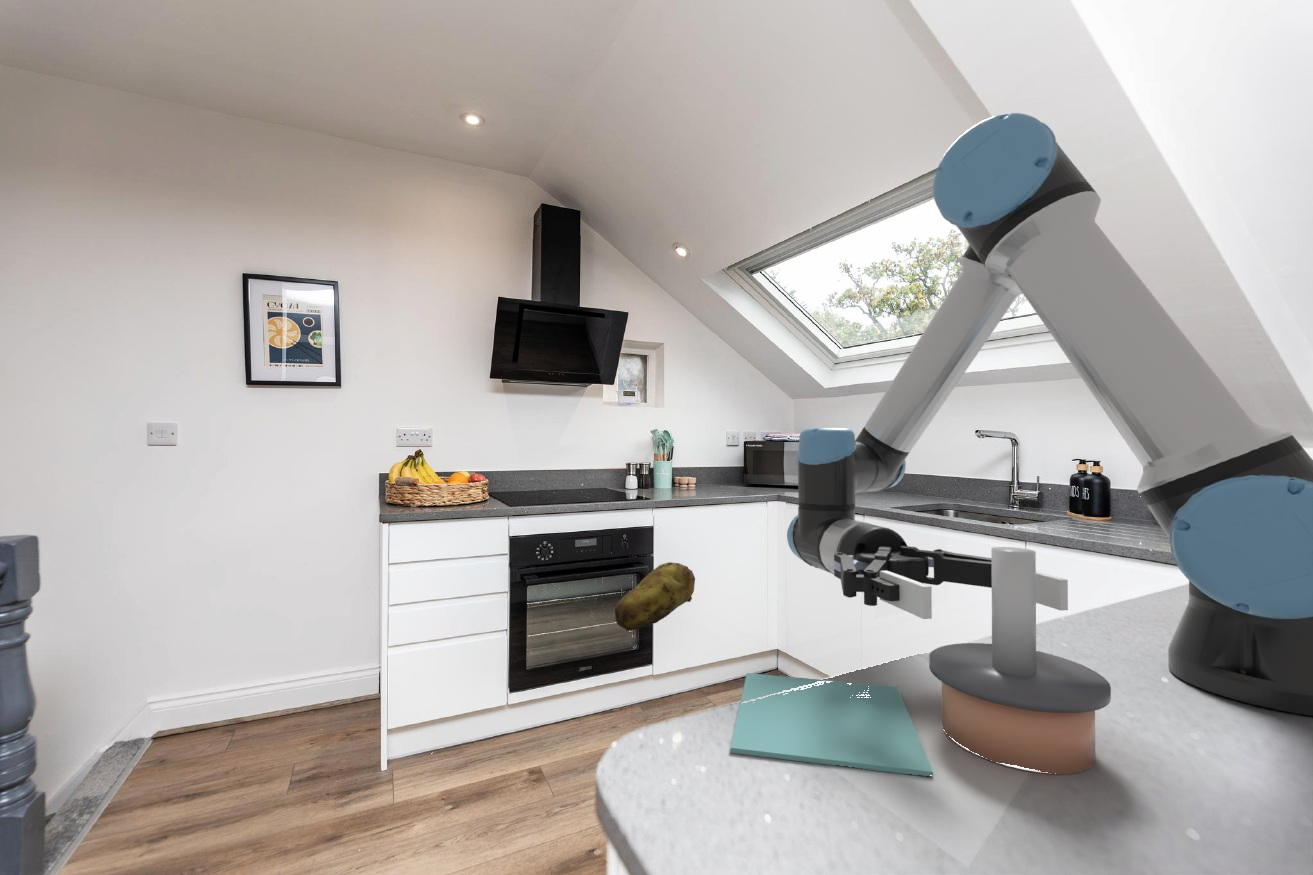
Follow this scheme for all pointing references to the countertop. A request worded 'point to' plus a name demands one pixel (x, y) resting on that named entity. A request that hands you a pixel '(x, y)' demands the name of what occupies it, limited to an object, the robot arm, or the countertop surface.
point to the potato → (655, 596)
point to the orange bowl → (1020, 733)
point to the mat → (828, 725)
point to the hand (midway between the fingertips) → (998, 598)
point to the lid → (1018, 651)
